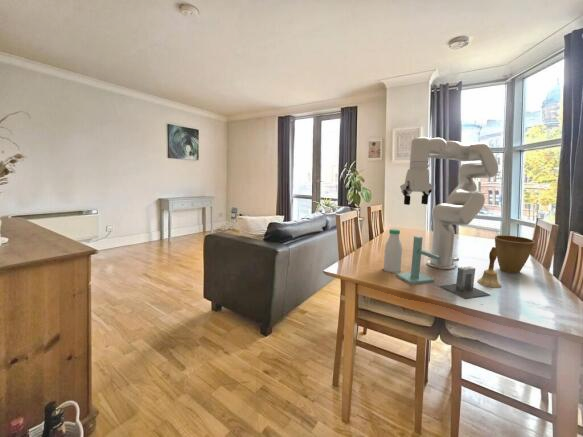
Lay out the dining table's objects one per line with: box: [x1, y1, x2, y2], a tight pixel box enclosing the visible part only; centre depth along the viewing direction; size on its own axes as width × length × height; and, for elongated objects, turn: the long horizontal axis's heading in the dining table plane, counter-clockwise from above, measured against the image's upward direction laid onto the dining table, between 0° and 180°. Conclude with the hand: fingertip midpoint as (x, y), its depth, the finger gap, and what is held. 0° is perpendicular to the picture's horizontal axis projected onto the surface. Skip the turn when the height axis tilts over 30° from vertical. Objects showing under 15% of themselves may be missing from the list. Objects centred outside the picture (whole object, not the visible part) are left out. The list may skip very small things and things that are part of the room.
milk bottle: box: [383, 228, 403, 274], centre depth 131 cm, size 8×8×20 cm
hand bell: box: [477, 246, 502, 288], centre depth 116 cm, size 8×8×16 cm
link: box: [455, 266, 476, 292], centre depth 109 cm, size 6×2×9 cm, turn 106°
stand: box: [395, 235, 440, 285], centre depth 117 cm, size 12×17×19 cm
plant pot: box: [494, 234, 536, 274], centre depth 132 cm, size 15×15×16 cm
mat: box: [439, 283, 491, 300], centre depth 109 cm, size 12×12×1 cm
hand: (415, 204), depth 125 cm, fingers open, 9 cm apart
